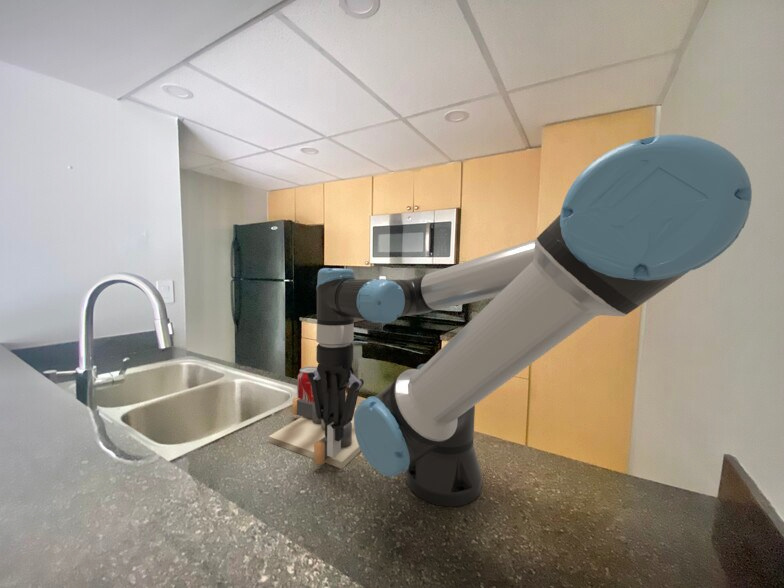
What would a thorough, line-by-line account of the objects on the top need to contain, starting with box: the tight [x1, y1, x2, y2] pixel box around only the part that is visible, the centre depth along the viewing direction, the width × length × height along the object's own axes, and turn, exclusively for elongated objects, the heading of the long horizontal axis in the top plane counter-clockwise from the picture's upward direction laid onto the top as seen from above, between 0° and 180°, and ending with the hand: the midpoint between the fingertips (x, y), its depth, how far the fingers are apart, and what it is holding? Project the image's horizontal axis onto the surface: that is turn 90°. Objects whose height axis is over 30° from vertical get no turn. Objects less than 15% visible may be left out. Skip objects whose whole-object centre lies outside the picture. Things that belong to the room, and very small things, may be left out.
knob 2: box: [313, 422, 352, 466], centre depth 66 cm, size 12×4×4 cm, turn 154°
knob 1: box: [292, 397, 321, 424], centre depth 82 cm, size 12×4×4 cm, turn 64°
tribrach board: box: [268, 395, 362, 470], centre depth 78 cm, size 22×24×10 cm
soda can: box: [296, 366, 317, 403], centre depth 92 cm, size 7×7×12 cm
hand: (333, 453), depth 63 cm, fingers closed
